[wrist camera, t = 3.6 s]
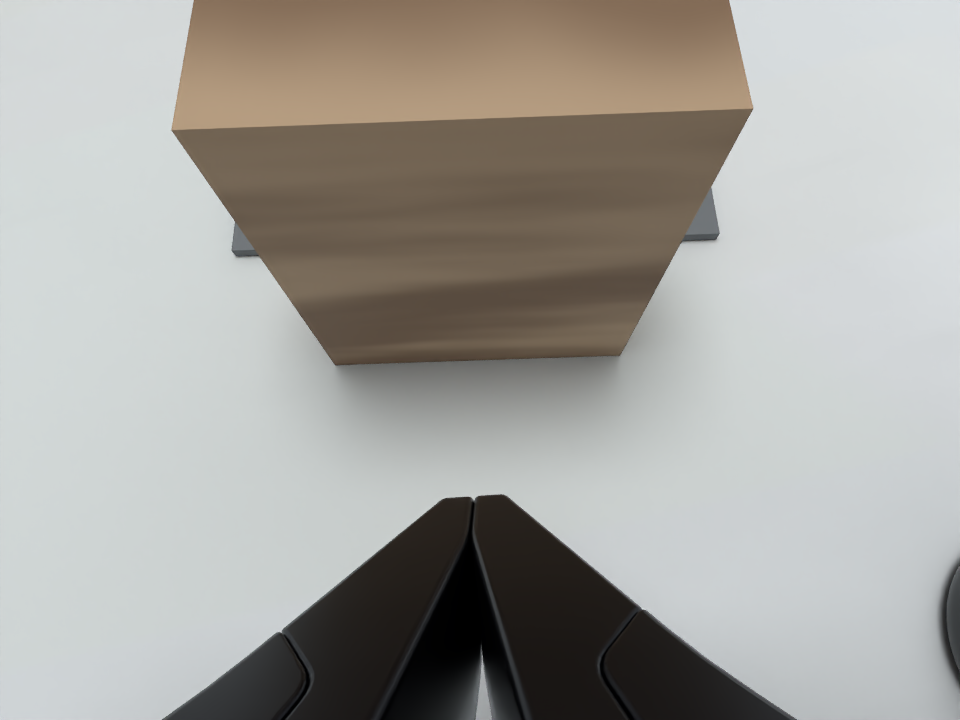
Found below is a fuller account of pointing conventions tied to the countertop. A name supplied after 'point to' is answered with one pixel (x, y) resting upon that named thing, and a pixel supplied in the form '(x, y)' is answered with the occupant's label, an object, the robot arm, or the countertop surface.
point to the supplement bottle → (954, 617)
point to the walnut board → (463, 161)
